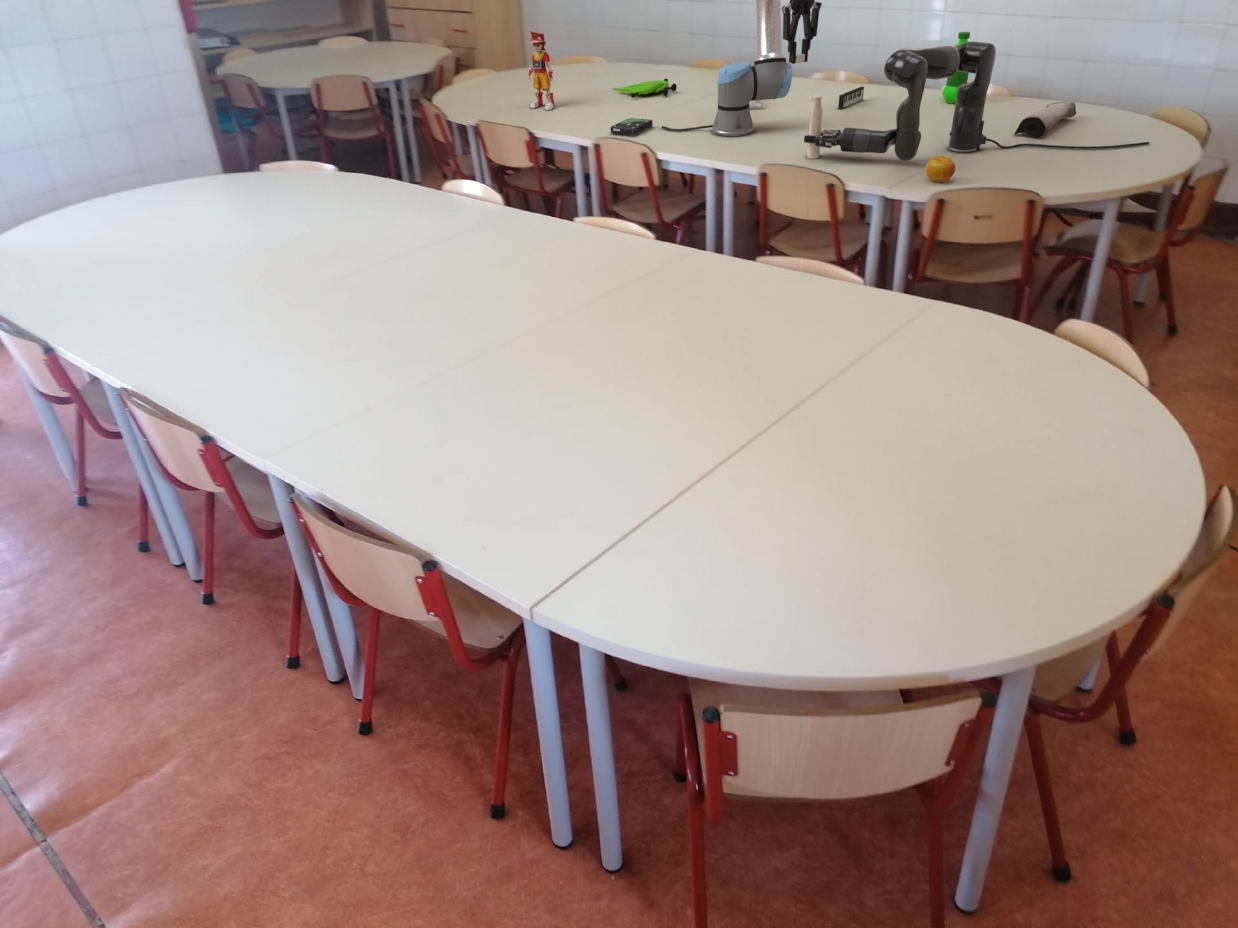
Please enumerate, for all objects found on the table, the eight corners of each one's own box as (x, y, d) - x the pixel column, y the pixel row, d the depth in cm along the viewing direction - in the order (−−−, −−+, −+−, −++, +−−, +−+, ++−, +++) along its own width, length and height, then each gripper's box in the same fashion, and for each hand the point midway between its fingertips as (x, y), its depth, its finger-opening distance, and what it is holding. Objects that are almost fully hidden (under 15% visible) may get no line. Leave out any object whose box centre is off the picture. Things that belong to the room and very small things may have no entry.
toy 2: (686, 85, 398) (631, 84, 414) (685, 72, 395) (629, 72, 411) (651, 104, 381) (596, 103, 397) (650, 92, 378) (594, 91, 394)
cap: (801, 63, 290) (802, 56, 289) (790, 62, 292) (790, 55, 290) (806, 61, 292) (806, 54, 291) (795, 60, 294) (795, 53, 293)
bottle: (807, 155, 307) (811, 95, 296) (819, 155, 306) (824, 95, 295) (806, 158, 304) (810, 98, 293) (818, 158, 303) (823, 98, 292)
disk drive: (633, 137, 337) (653, 126, 347) (633, 129, 336) (652, 119, 346) (610, 134, 342) (630, 124, 352) (609, 127, 340) (630, 117, 350)
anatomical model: (728, 80, 368) (752, 74, 367) (733, 106, 374) (756, 99, 373) (735, 89, 356) (760, 82, 355) (739, 115, 362) (764, 108, 361)
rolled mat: (1043, 106, 330) (1068, 89, 322) (1057, 127, 331) (1082, 110, 323) (1010, 128, 313) (1035, 111, 305) (1024, 150, 313) (1050, 133, 305)
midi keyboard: (840, 109, 355) (842, 95, 352) (838, 108, 355) (839, 95, 353) (863, 99, 365) (864, 86, 362) (860, 99, 366) (861, 86, 363)
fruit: (919, 172, 274) (936, 148, 271) (921, 174, 282) (937, 151, 279) (942, 187, 273) (960, 164, 270) (943, 189, 281) (960, 166, 278)
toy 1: (525, 109, 381) (517, 32, 364) (534, 104, 388) (527, 28, 371) (550, 110, 377) (543, 32, 360) (559, 105, 384) (553, 28, 367)
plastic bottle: (973, 101, 354) (984, 32, 339) (955, 106, 349) (966, 36, 335) (952, 97, 361) (962, 29, 346) (934, 102, 356) (944, 33, 342)
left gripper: (786, -14, 273) (781, 68, 287) (833, -20, 278) (826, 60, 292) (773, -17, 279) (769, 63, 293) (819, -23, 284) (813, 56, 297)
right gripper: (863, 123, 299) (812, 120, 306) (853, 134, 289) (801, 131, 295) (860, 146, 304) (811, 142, 310) (850, 158, 293) (799, 154, 300)
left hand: (798, 62), depth 292 cm, fingers closed on cap, 4 cm apart
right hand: (806, 137), depth 303 cm, fingers closed on bottle, 4 cm apart
